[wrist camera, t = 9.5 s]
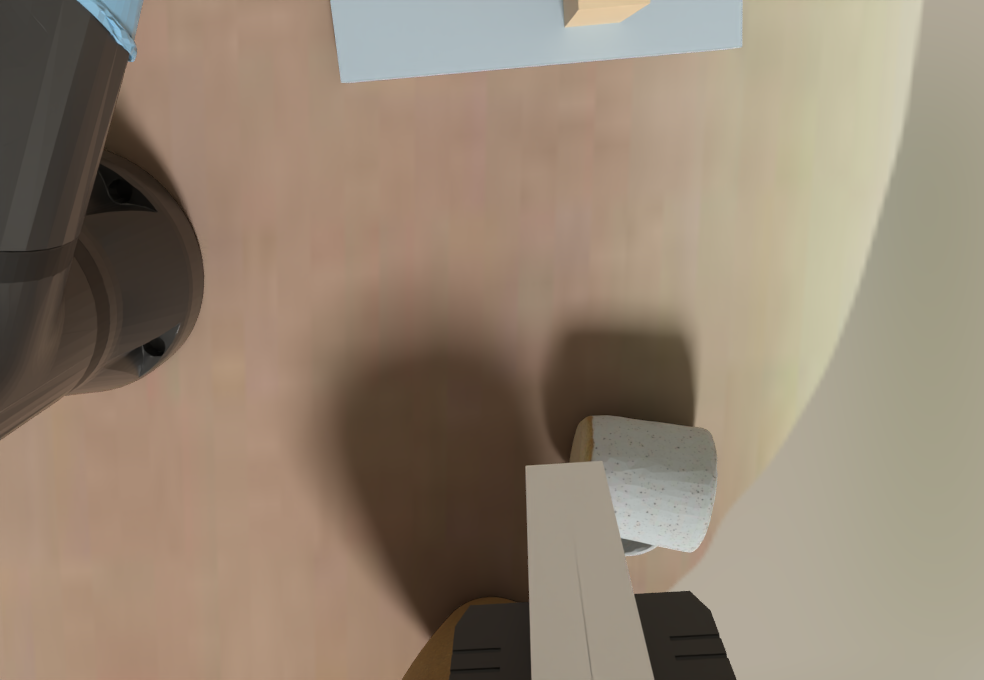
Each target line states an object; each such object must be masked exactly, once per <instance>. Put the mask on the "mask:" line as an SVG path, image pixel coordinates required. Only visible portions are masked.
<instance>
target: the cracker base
mask: <svg viewBox="0 0 984 680" xmlns="http://www.w3.org/2000/svg"><path fill="white" fill-rule="evenodd" d="M330 2H331V10H332V17H333V25H334V32H335V40H336V47H337V55H338V63H339V70H340V78H341V83H354V82H365V81H376V80H387V79H399V78H410V77H421V76H433V75H444V74H455V73H466V72H478V71H489V70H500V69H511V68H523V67H534V66H545V65H556V64H568V63H579V62H590V61H602V60H613V59H624V58H635V57H647V56H658V55H669V54H680V53H692V52H703V51H714V50H726V49H734V48H740V47H742V0H330Z"/></svg>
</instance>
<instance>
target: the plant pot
mask: <svg viewBox="0 0 984 680" xmlns="http://www.w3.org/2000/svg"><path fill="white" fill-rule="evenodd" d="M502 603H517V602H514V601H512V600H508V599H504V598H499V597H485V598H479V599H475V600H472V601H470V602H467V603H465V604H464V605H462V606H460V607H459V608H458V609H456V610H455V611H454V612H453V613H452V614H451V615H450V616H449V617H448V618H447V620H446V621H445V622H444V623H443V624H442V625H441V626H440V628H439V629H438V630H437V631H436V632H435V633H434V635H433V636H432V637H431V638H430V640H429V641H428V642H427V644H426V645H425V646H424V648H423V649H422V650H421V652H420V653H419V654H418V656H417V657H416V659H415V660H414V662H413V663H412V665H411V666H410V668H409V669H408V671H407V672H406V674H405V675H404V677H403V679H402V680H449V675H450V666H451V657H452V648H453V639H454V630H455V626H456V624H457V623H458V621H459V620H460V619H461V617H462V616H463V614H464V613H465V612H466V610H467V609H468V607H469V606H470V605H484V604H502Z"/></svg>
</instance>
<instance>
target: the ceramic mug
mask: <svg viewBox="0 0 984 680" xmlns="http://www.w3.org/2000/svg"><path fill="white" fill-rule="evenodd" d="M592 461H603V465H604V470H605V474H606V478H607V482H608V486H609V491H610V495H611V499H612V503H613V508H614V512H615V516H616V520H617V524H618V529H619V533H620V537H621V541H622V545H623V550H624V554H625V556H634V555H639V554H643V553H646V552H648V551H650V550H652V549H654V548H655V547H657V546H659V547H664V548H669V549H674V550H678V551H683V552H693V551H695V550H696V549H697V548H698V547H699V545H700V544H701V542H702V541H703V539H704V537H705V535H706V532H707V529H708V526H709V523H710V519H711V515H712V509H713V504H714V500H715V494H716V487H717V453H716V449H715V444H714V441H713V437H712V435H711V433H710V432H709V431H708V430H706V429H704V428H699V427H690V426H683V425H676V424H670V423H662V422H654V421H646V420H638V419H631V418H625V417H619V416H609V415H598V416H588V417H586V418H584V419H583V420H582V421H581V422H580V423H579V424H578V426H577V429H576V432H575V436H574V440H573V445H572V450H571V455H570V461H569V463H576V462H592Z"/></svg>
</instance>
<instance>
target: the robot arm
mask: <svg viewBox="0 0 984 680" xmlns="http://www.w3.org/2000/svg"><path fill="white" fill-rule="evenodd" d="M142 4H143V0H0V440H1V439H3V438H4V437H6V436H7V435H9V434H10V433H12V432H13V431H14V430H16V429H17V428H19V427H20V426H22V425H23V424H25V423H26V422H28V421H29V420H30V419H32V418H33V417H35V416H36V415H38V414H39V413H41V412H42V411H44V410H45V409H47V408H48V407H49V406H51V405H52V404H54V403H55V402H57V401H58V400H60V399H61V398H62V397H64V396H67V395H76V394H85V393H94V392H102V391H108V390H112V389H116V388H119V387H122V386H125V385H128V384H130V383H133V382H135V381H137V380H139V379H141V378H143V377H145V376H146V375H148V374H149V373H151V372H152V371H153V370H155V369H156V368H157V367H159V366H160V365H161V364H163V363H164V362H165V361H166V360H168V359H169V358H170V357H171V356H172V355H173V354H175V353H176V352H177V350H178V349H179V348H180V347H181V346H182V345H183V343H184V342H185V341H186V339H187V338H188V336H189V335H190V333H191V331H192V329H193V327H194V325H195V323H196V321H197V318H198V315H199V312H200V308H201V304H202V299H203V290H204V272H203V264H202V258H201V253H200V249H199V246H198V243H197V240H196V237H195V234H194V232H193V230H192V228H191V225H190V223H189V222H188V220H187V218H186V216H185V214H184V213H183V211H182V210H181V208H180V207H179V205H178V204H177V203H176V201H175V200H174V199H173V197H172V196H171V195H170V194H169V193H168V192H167V190H166V189H165V188H164V187H163V186H162V185H161V184H160V183H159V182H157V181H156V180H155V179H154V178H153V177H152V176H151V175H149V174H148V173H147V172H145V171H144V170H143V169H141V168H140V167H138V166H137V165H135V164H133V163H132V162H130V161H128V160H126V159H124V158H122V157H120V156H118V155H116V154H114V153H111V152H109V151H106V150H103V149H104V145H105V142H106V138H107V134H108V131H109V127H110V124H111V120H112V116H113V113H114V109H115V105H116V102H117V98H118V95H119V91H120V87H121V84H122V80H123V77H124V73H125V69H126V66H127V62H128V61H129V62H133V61H134V60H135V58H136V55H137V48H136V44H135V42H134V39H135V35H136V30H137V26H138V22H139V17H140V13H141V9H142ZM525 468H526V503H527V538H528V573H529V602H521V603H502V604H484V605H470V606H469V607H468V609H467V610H466V612H465V613H464V614H463V616H462V617H461V619H460V620H459V621H458V623H457V624H456V626H455V630H454V639H453V648H452V657H451V666H450V675H449V680H736V677H735V675H734V672H733V669H732V667H731V664H730V661H729V659H728V658H727V654H726V651H725V648H724V645H723V643H722V640H721V638H720V637H719V632H718V630H717V627H716V624H715V621H714V619H713V617H712V613H711V611H710V610H709V609H708V608H707V607H706V606H705V605H704V604H703V603H702V602H701V601H699V599H698V598H697V597H696V596H694V595H693V594H692V593H691V592H690V591H681V592H662V593H644V594H634V592H633V588H632V583H631V579H630V575H629V571H628V567H627V562H626V558H625V554H624V550H623V545H622V541H621V537H620V533H619V529H618V524H617V520H616V516H615V512H614V508H613V503H612V499H611V495H610V491H609V486H608V482H607V478H606V474H605V470H604V465H603V461H592V462H576V463H561V464H545V465H529V466H525Z"/></svg>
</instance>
